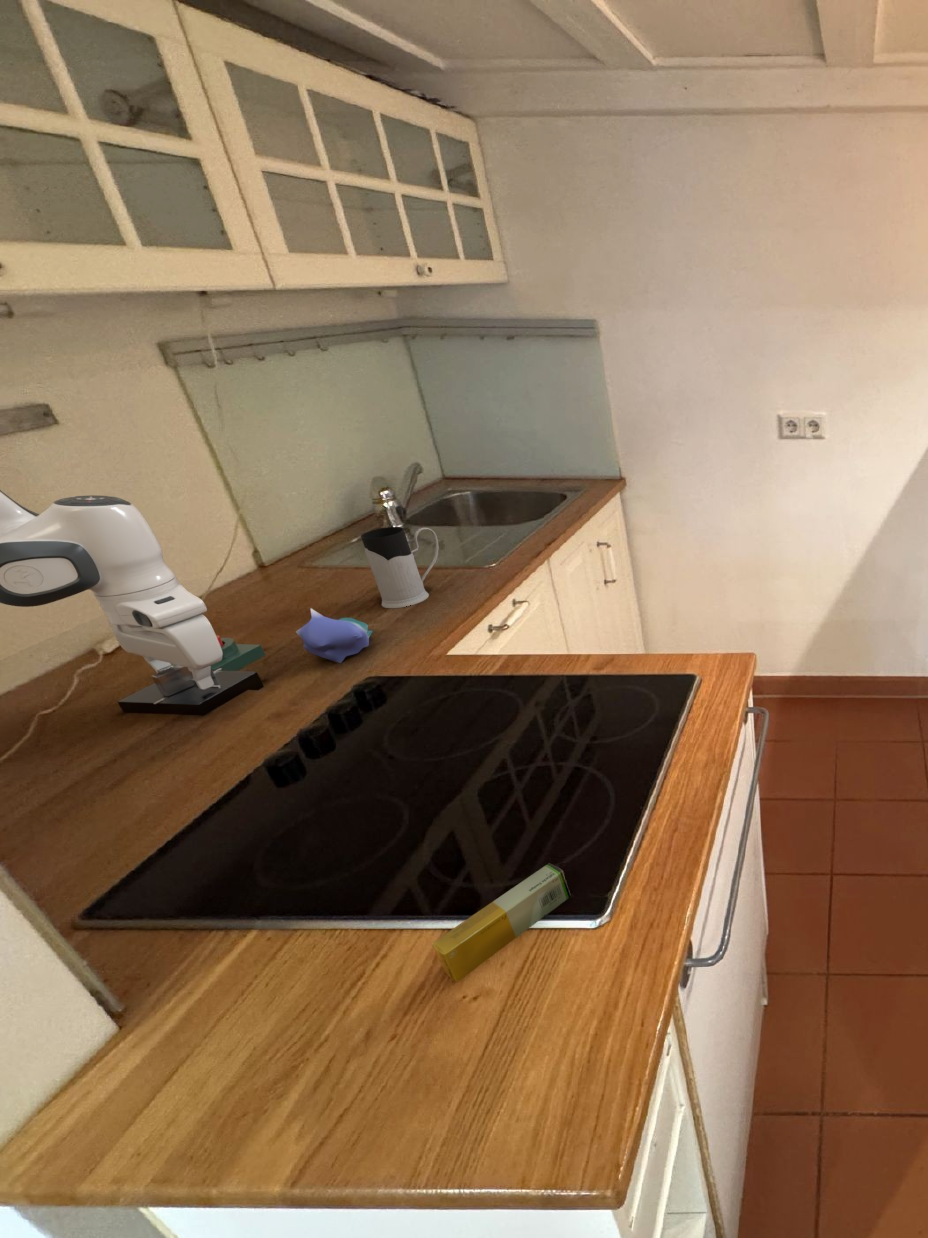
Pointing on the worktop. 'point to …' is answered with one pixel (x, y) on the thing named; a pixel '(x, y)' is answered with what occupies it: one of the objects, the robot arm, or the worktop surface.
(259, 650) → the green control housing
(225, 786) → the worktop surface
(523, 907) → the medication box
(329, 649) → the figurine
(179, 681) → the grey switch lever
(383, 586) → the glass holder
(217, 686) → the base
